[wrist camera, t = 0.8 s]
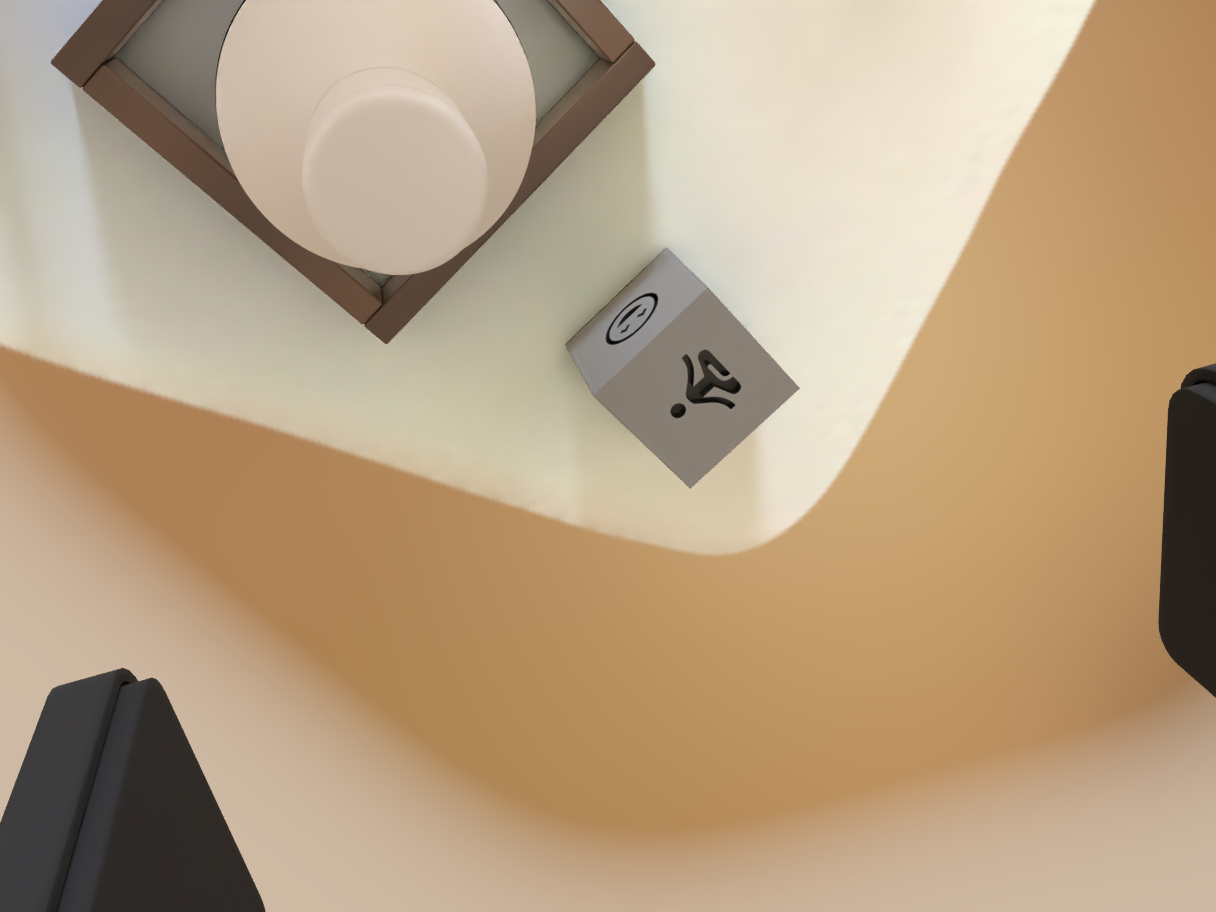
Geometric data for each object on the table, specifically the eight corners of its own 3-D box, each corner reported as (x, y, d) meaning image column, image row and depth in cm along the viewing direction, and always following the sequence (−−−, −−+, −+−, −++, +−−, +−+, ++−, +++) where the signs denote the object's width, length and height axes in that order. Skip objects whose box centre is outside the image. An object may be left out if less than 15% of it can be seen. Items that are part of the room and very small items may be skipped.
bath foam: (232, 136, 35) (128, 345, 18) (275, -99, 33) (203, -126, 15) (448, 193, 38) (546, 430, 20) (502, -23, 35) (669, 29, 18)
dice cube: (751, 340, 42) (799, 388, 38) (653, 430, 43) (690, 488, 39) (666, 247, 40) (707, 287, 36) (565, 344, 41) (593, 395, 36)
